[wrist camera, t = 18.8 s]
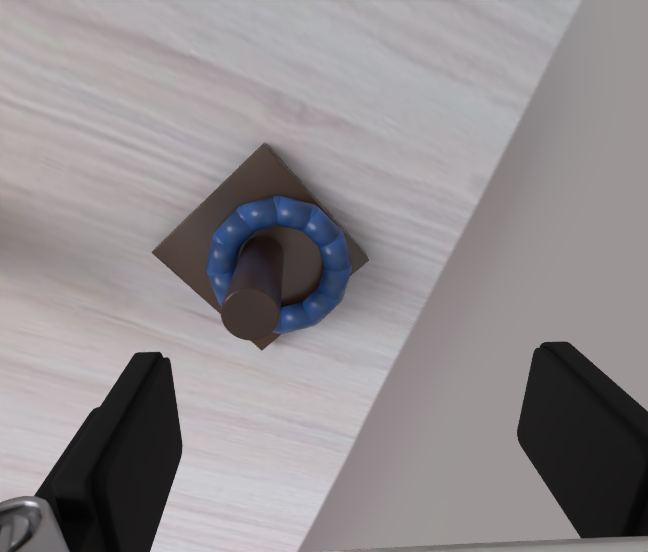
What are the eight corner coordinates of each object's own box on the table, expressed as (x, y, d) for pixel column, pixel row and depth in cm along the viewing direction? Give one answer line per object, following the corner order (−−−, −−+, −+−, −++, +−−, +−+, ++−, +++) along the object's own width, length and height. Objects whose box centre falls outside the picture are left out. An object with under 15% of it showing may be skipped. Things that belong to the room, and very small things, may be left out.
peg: (264, 142, 22) (250, 158, 14) (366, 254, 24) (399, 318, 17) (156, 247, 23) (92, 311, 16) (262, 342, 26) (250, 437, 18)
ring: (329, 178, 22) (331, 182, 20) (361, 305, 24) (365, 316, 23) (189, 217, 22) (183, 224, 20) (237, 338, 24) (234, 351, 23)
